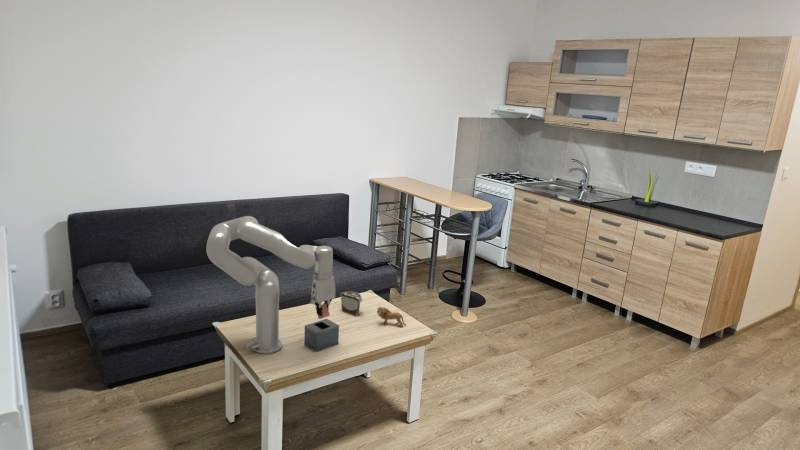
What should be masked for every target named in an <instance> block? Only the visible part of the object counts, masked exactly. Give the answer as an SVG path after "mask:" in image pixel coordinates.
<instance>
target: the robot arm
mask: <svg viewBox="0 0 800 450" xmlns="http://www.w3.org/2000/svg"><path fill="white" fill-rule="evenodd" d="M238 239H241V240H242V241H244V242H247V243H249V244H250V245H251V244H252V245H254V246H257V247H259V248H262V249H264V250H266V251H268V252H270V253H272V254H273V255H275V256H276V257H278V258H279V259H282V260H283V261H285V262H286V263H288V264H289V265H293V266H296V267H297V268H301V269H306V270H307V269H312V267H314V273H313V274H312V278H313V280H312V284H311V294H310V295H311V296H310V298H311V299H310V301H309V304H311V305H314V306H315V307H317V311H316V315H317V316H318V315H319V316H322V307H321V305H323V304H327V308H328V311H329V307H330V305H331V302H332V301H333V300H334V299H335V298H336V282H335V281H336V280H335V277H334V275H333V267H334V266H333V264H334V263H333V262H334V261H333V260H334V256H333V255H334V250H333V248H332V246H328V245H319V246H318V245H312V244H311V245H310V244H302V245H300V246H299V247H297V246H296V245H294V244H293V243H291V242H290V241H288V239H286V238H285V237H284V235H283V234H281V233H280V232H278V231H276V230H274V229H271V228H270V227H267V226H265V225H262V224H260V223H259V222H258V219H257V218H255V217H254V216H251V215H245V216H241V217H238V218H233V219H231V220H227V221H223V222H220V223H218V224H216V225H214V227H213V228H212V229H211V230H210V233H209V236H208V238H207V241H206V246H205V247H206V255H207V257H208V259H209V261H211V262H212V264H213V265H215V266H216V267H218V269H221V270H222V271H223V272H225V274H227V275H229V276H230V278H233V279H234V280H235V281H237V282H238V283H239V284H241V285H243V286H252V285H253V286H255V290H254V291H255V337H254V338H253V341H251V342H248V343H245V348H246V349H250V348H251V350H253V351H254V352H255V353H258V354H263V355H264V354H267V355H268V354H274V353H277V352H279V351H280V350H281V349H282V348H283V342H282V341H281V340H280V339H279V335H280V332H279V331H280V329H279V327H280V326H279V325H280V320H279V319H280V285H279V284H280V282H279V278H278V275H276V274H275V272H273V271H272V270H271V269H270V268H268V267H267V266H266V265H265V264H263V263H262V262H260V261H259V260H257V258H254V257H251V256H244V257H241V256H240V255H239V254H237V253H236V252H234V251H232V250H230V244H231V242H232V241H235V240H238ZM322 302H323V303H322ZM329 312H330V311H329Z"/></svg>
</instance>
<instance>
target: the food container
mask: <svg viewBox="0 0 800 450" xmlns="http://www.w3.org/2000/svg"><path fill="white" fill-rule="evenodd" d="M339 297H340V301H341V302H340V303H341V312H342V313H344V314H348V315H350V316H354V317H356V318H357V317H358V316H359V314H360V313H359V312H360V306H361V302H362V301H363V298H362V296H361V294H360V293H359V292H355V291H343V292H340V295H339Z"/></svg>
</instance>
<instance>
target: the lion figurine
mask: <svg viewBox="0 0 800 450" xmlns="http://www.w3.org/2000/svg"><path fill="white" fill-rule="evenodd" d="M376 313H377V315H378V317H380V318H381V319H383V320H384V321H383V326H387V324H388V320H391V321H392V320H396V322H395V324H396V325H400V326H399V328H401V327H402V328H403V325H404V326H407V324H406V323H405V321H404V317H403V315H402V314H401V313H400V312H393V311H391V310H389V309H387V308H386V307H383V306H379V307H377V311H376Z"/></svg>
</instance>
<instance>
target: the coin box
mask: <svg viewBox="0 0 800 450" xmlns="http://www.w3.org/2000/svg"><path fill="white" fill-rule="evenodd" d="M339 332H340V325H339V324H337V323H335V322H334V321H332V320H331V319H328V318H325V319H324V318H323V319H321V320H317V321H314V322H312V323H308V324H306V325H304V338H303V339H304V343H303V344H304V345H305V346H306V347H308V348H310V349H311V350H313V351H314V352H315V353H317V352H321V351H323V350H325V349H328V348H331V347H334V346H336V345H339V340H340V339H339V336H340V335H339Z"/></svg>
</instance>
